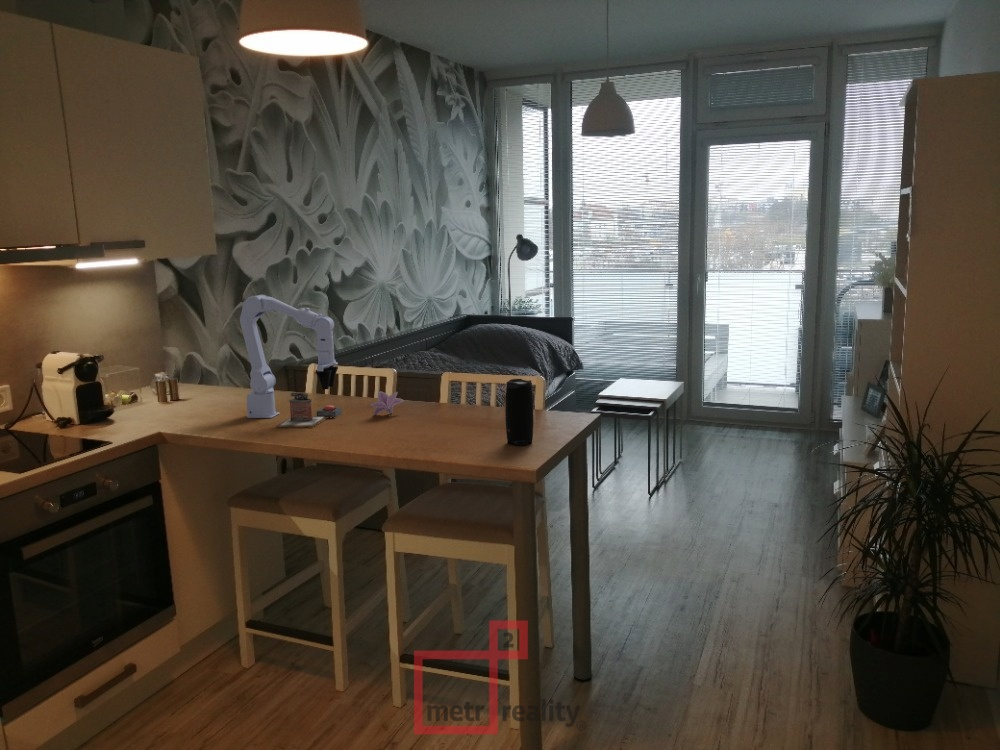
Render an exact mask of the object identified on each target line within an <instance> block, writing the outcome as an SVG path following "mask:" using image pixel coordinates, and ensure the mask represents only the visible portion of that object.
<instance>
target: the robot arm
mask: <svg viewBox="0 0 1000 750" xmlns="http://www.w3.org/2000/svg"><path fill="white" fill-rule="evenodd" d="M241 306H242V309H241V313H240V317H239V323H240V327H241V332H242V335H243V339H244V342H245V347H246V350H247V354H248V358H249V362H250V367H251V370H250V372H249V376H250V382H249V386H250V389H251V391H252V392H248V394H247V395H246V413H247V416H246V418H247V419H272V418H274V417H275V416H277V415H280V414H281V412H279V411H276V400H275V390H274V387H275V386H276V382H277V381H276V379H277V378H276V377H275V375H274V374H273V373H272V370H271V369H272V368H271V367H270V366H269V365H268V364H267V360H266V356H265V351H264V349H263V346H262V341H261V337H260V333H259V329H258V326H257V322H258V320H259V319H260V317H261V316H262V315H263V314H264V313H266V312H269V311H275V312H278V313H279V314H280V313H281V314H283V315H286V316H289V317H291V318H293V319H295V321H296V323H297V324H299V325H302V326H303V327H306V328H309V329H311V330H314V331H315V332H316V342H317V343H316V344H317V359H318V360H317V361H318V362H317V365H316V370H315V374H316V375H317V377H318V379H319V382H320V386H321V388H322V390H329V388H332V387H334V384H335V378H336V374H337V372H338V369H339V367H338V366H337V365H338V364H339V362H337V361H336V360H337V359H335V344H334V334H333V333H334V332H333V329H334V328H335V321H334V320H333V318H332V317H330V316H328V315H325V316H323V314H322V313H316V312H314V311H312V310H311V308H310V307H305V308H304V307H302V308H300V309H298V308H296V307H294V306H292V305H290V304H287V303H286V302H284V301H283V302H282V301H281V300H279V299H277V298H274V297H272V296H268V295H266V294H264V293H263V294H258V295H251V296H249V297H247V298H246V299H245V300H244V301H243V303H242V304H241Z"/></svg>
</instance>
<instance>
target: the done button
mask: <svg viewBox="0 0 1000 750" xmlns="http://www.w3.org/2000/svg"><path fill="white" fill-rule="evenodd" d="M323 407H324V410H330V411H333V410H334V407H335V405H334V404H329V405H328V404H327V405H324V406H323Z"/></svg>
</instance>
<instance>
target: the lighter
mask: <svg viewBox="0 0 1000 750" xmlns="http://www.w3.org/2000/svg"><path fill="white" fill-rule="evenodd" d="M290 397H294V398H289V400H288V403H289V408H290V409H289V411H290V417H289V418H290V420H291V421H313V418H312V416H313V415H312V414H313V411H312V402H313V401H312V398H308V397H309V393H307V392H305V393H304V392H303V391H301V392H291V393H290Z"/></svg>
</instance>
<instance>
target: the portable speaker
mask: <svg viewBox="0 0 1000 750" xmlns="http://www.w3.org/2000/svg"><path fill="white" fill-rule="evenodd" d="M532 385H533V382H532V380H531V379H530V380H526V379H522V378H512V379H509V380H507V381H506V387H505V398H504V399H505V400H504V402H505V407H504V409H505V418H504V419H505V431H506V432H505V433H506V440H507V444H510V443H512V444H513V445H514V446H517V447H519V446H520V447H522V446H523V445H525V446H527V445H528V444H529V443H532V442H533V439H534V437H533V435H534V424H535V423H534V396H533V388H532V387H533V386H532Z"/></svg>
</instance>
